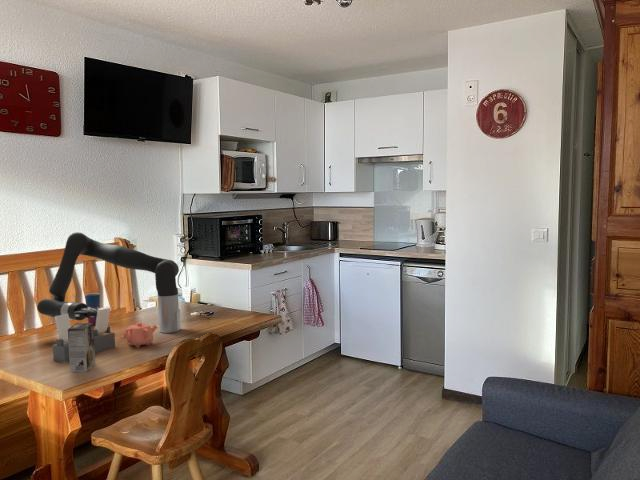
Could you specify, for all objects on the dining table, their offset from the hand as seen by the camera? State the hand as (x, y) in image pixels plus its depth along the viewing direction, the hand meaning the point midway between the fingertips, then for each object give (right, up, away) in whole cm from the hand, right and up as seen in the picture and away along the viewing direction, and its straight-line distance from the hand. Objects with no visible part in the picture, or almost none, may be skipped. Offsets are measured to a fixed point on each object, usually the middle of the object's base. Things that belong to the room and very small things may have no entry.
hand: (101, 314), depth 226 cm
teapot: (+15, -14, +5) cm, 21 cm away
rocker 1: (-8, -9, -13) cm, 18 cm away
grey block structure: (-4, -15, -5) cm, 17 cm away
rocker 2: (-1, -7, +1) cm, 7 cm away
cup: (-22, -11, +45) cm, 51 cm away
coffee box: (+3, -17, -25) cm, 30 cm away
